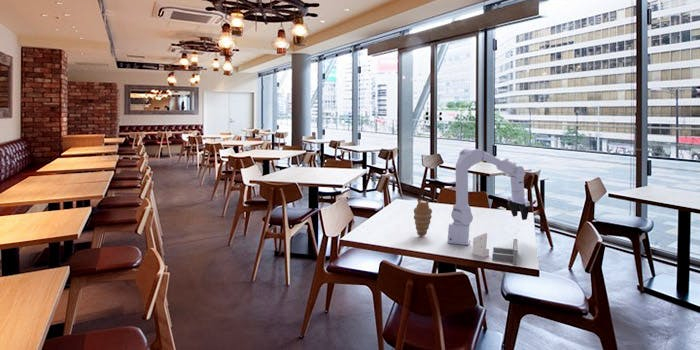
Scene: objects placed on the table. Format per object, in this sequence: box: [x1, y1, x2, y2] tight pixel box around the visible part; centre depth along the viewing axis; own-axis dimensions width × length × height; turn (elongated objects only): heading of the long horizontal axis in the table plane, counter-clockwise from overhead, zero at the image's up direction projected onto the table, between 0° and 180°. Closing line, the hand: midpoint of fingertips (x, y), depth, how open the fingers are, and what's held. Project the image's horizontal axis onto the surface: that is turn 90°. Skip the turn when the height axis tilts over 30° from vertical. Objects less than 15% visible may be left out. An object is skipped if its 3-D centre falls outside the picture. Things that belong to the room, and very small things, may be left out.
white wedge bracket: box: [471, 232, 490, 257], centre depth 197 cm, size 4×10×9 cm, turn 33°
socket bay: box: [491, 238, 519, 266], centre depth 194 cm, size 10×18×6 cm, turn 161°
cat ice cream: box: [413, 199, 433, 237], centre depth 225 cm, size 9×8×18 cm
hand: (519, 217), depth 223 cm, fingers open, 7 cm apart
